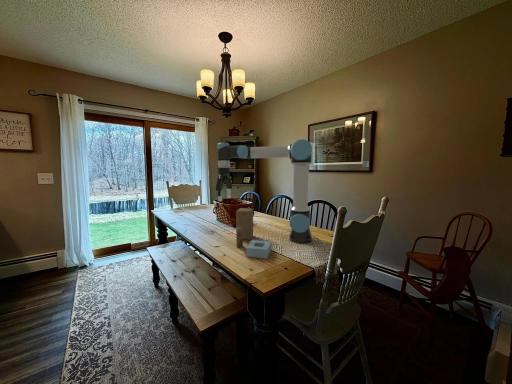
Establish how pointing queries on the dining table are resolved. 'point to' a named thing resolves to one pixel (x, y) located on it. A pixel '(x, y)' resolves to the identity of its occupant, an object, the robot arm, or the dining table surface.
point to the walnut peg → (239, 237)
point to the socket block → (258, 249)
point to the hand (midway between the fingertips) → (224, 199)
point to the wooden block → (245, 222)
